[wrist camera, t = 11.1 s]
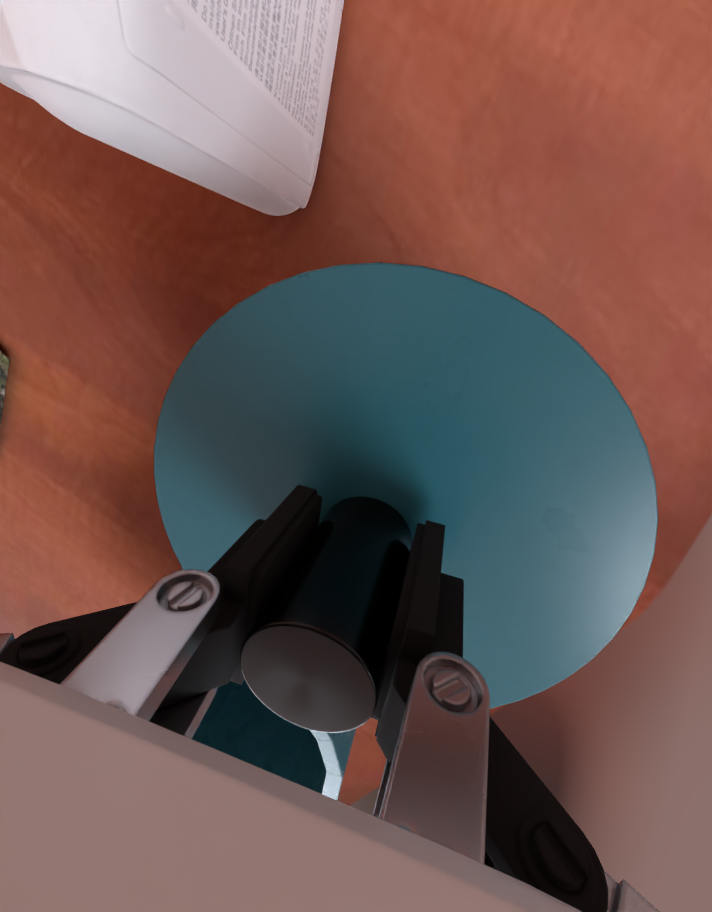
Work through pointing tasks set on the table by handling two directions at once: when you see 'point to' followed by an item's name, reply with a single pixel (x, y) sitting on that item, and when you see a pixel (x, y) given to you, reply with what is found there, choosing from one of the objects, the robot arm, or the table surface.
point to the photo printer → (186, 84)
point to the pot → (274, 740)
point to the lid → (408, 478)
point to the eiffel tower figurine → (3, 379)
